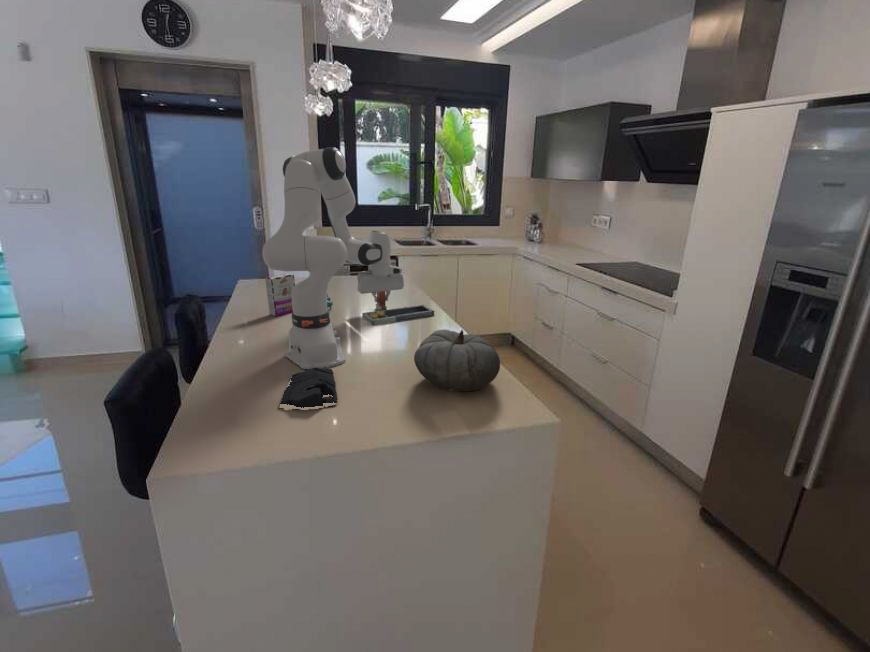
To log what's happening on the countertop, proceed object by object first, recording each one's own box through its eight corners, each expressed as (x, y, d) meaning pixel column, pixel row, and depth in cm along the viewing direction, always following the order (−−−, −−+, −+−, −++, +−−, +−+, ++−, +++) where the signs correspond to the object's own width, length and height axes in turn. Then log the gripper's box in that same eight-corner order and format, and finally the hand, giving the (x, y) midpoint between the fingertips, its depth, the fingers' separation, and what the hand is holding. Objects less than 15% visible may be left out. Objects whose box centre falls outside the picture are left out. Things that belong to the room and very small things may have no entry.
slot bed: (434, 317, 192) (434, 310, 191) (395, 323, 183) (395, 316, 182) (423, 311, 200) (423, 304, 199) (385, 316, 192) (385, 310, 191)
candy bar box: (290, 308, 200) (287, 272, 195) (298, 311, 198) (294, 274, 192) (268, 314, 192) (264, 276, 187) (275, 317, 189) (271, 278, 184)
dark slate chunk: (340, 374, 139) (339, 360, 137) (337, 410, 118) (336, 394, 117) (288, 377, 136) (287, 362, 135) (276, 414, 116) (274, 397, 114)
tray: (395, 324, 183) (395, 317, 182) (372, 327, 178) (372, 320, 177) (385, 316, 192) (384, 309, 191) (362, 319, 187) (362, 312, 187)
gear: (303, 308, 196) (311, 289, 200) (307, 314, 201) (314, 295, 205) (328, 313, 195) (335, 293, 199) (331, 319, 200) (338, 300, 204)
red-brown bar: (387, 312, 196) (386, 289, 192) (381, 312, 194) (380, 290, 191) (381, 308, 200) (381, 286, 197) (375, 309, 199) (375, 287, 196)
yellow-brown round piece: (385, 314, 185) (385, 309, 188) (377, 312, 184) (377, 307, 187) (383, 321, 187) (383, 316, 190) (375, 319, 186) (375, 314, 189)
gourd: (423, 400, 117) (428, 334, 115) (403, 375, 141) (406, 320, 139) (511, 398, 125) (517, 336, 122) (477, 375, 148) (482, 323, 146)
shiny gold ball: (377, 323, 183) (380, 315, 183) (370, 320, 181) (373, 312, 181) (374, 321, 186) (377, 313, 186) (367, 319, 184) (370, 310, 184)
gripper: (359, 273, 184) (361, 306, 188) (405, 269, 193) (405, 300, 198) (354, 270, 189) (355, 302, 194) (399, 266, 199) (399, 296, 203)
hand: (381, 301), depth 196 cm, fingers closed on red-brown bar, 3 cm apart
